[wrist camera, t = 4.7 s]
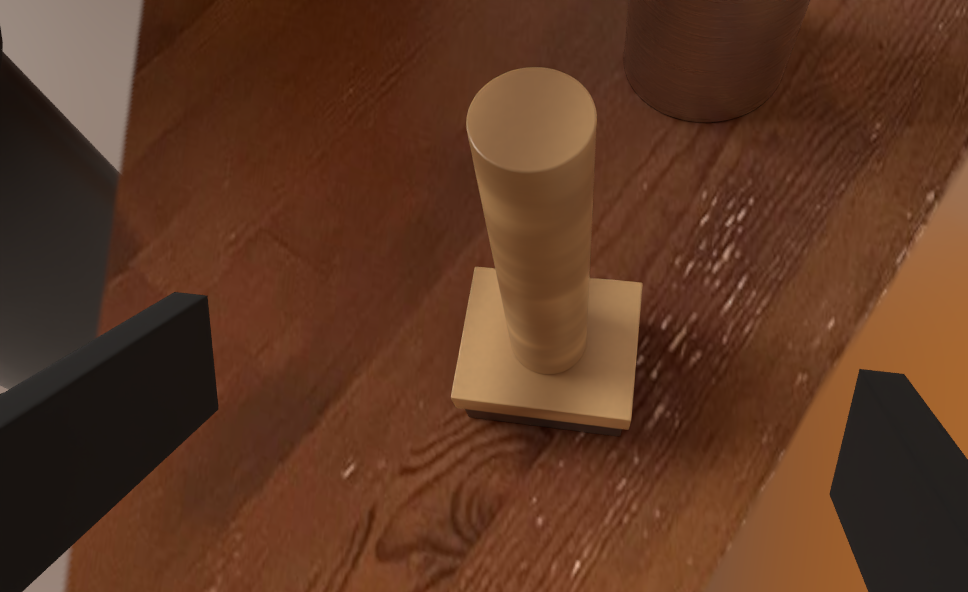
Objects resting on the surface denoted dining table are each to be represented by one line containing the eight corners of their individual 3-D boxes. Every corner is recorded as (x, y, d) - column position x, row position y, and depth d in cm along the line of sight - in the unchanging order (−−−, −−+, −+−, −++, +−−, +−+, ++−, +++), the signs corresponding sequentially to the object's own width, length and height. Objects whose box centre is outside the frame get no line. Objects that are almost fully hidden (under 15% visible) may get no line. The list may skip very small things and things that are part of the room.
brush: (462, 421, 28) (357, 212, 14) (483, 300, 30) (410, 16, 16) (625, 443, 27) (678, 240, 13) (636, 315, 29) (692, 27, 15)
